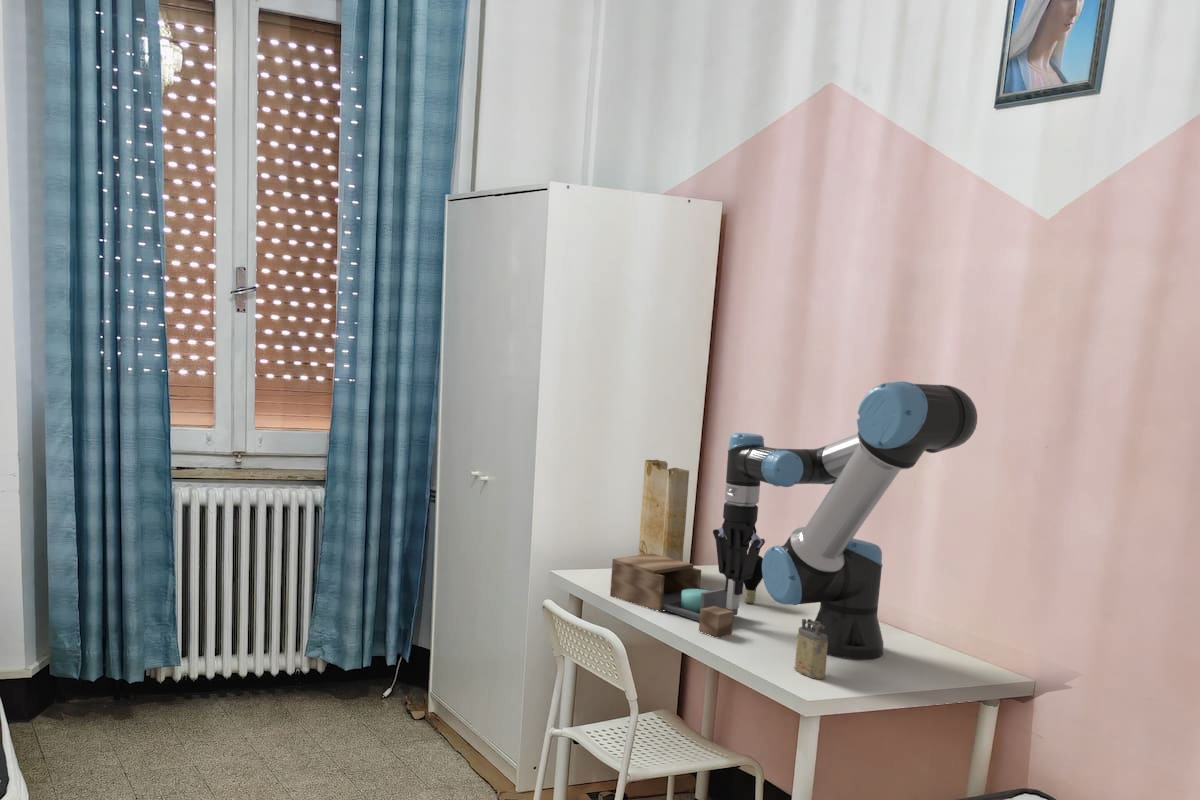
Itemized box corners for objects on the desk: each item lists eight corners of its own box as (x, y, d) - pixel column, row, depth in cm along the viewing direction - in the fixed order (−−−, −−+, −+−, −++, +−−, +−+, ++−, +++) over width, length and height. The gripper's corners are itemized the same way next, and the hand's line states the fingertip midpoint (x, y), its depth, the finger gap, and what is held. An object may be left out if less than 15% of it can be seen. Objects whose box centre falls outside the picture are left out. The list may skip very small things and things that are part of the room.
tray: (737, 614, 224) (739, 586, 224) (702, 622, 215) (704, 593, 215) (678, 597, 237) (680, 570, 237) (643, 603, 228) (645, 576, 228)
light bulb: (755, 608, 233) (759, 558, 232) (730, 602, 237) (734, 553, 236) (768, 603, 238) (772, 555, 238) (743, 598, 242) (747, 550, 242)
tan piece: (634, 566, 269) (642, 458, 268) (656, 566, 271) (664, 459, 269) (659, 588, 247) (668, 469, 245) (682, 588, 248) (691, 470, 246)
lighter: (829, 678, 184) (833, 626, 184) (813, 680, 183) (817, 628, 182) (804, 666, 191) (808, 616, 190) (789, 668, 189) (793, 617, 188)
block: (731, 634, 209) (733, 611, 209) (716, 638, 206) (718, 614, 206) (713, 628, 213) (715, 605, 213) (698, 632, 209) (700, 609, 209)
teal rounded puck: (694, 601, 230) (695, 587, 230) (722, 609, 225) (723, 594, 224) (673, 606, 224) (674, 591, 224) (701, 614, 219) (702, 599, 219)
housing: (698, 603, 233) (701, 566, 233) (659, 611, 224) (662, 573, 223) (649, 588, 245) (652, 553, 244) (610, 595, 235) (612, 558, 235)
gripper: (707, 499, 218) (699, 603, 220) (754, 509, 209) (745, 617, 210) (728, 497, 223) (720, 598, 225) (775, 507, 214) (766, 613, 215)
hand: (732, 607), depth 217 cm, fingers closed
